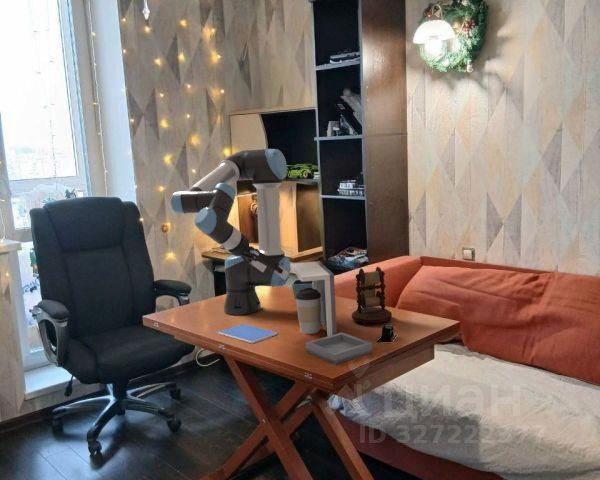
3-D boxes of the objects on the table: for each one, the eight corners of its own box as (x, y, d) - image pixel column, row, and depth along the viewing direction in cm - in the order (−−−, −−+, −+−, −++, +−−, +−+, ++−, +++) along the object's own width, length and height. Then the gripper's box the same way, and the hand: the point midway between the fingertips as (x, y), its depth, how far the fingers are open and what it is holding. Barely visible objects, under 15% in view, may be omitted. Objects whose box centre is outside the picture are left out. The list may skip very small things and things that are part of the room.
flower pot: (295, 299, 253) (294, 279, 251) (316, 299, 251) (315, 279, 250) (292, 305, 244) (291, 284, 243) (313, 305, 243) (312, 283, 241)
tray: (306, 351, 188) (305, 342, 188) (342, 340, 196) (342, 332, 196) (335, 364, 176) (334, 354, 175) (372, 352, 184) (372, 343, 184)
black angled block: (393, 346, 190) (393, 333, 189) (371, 344, 193) (371, 331, 192) (402, 334, 201) (402, 321, 200) (382, 333, 204) (381, 320, 203)
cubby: (293, 322, 220) (290, 263, 217) (322, 319, 222) (319, 261, 218) (305, 342, 197) (301, 277, 193) (337, 339, 199) (334, 274, 195)
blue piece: (217, 335, 212) (216, 331, 212) (243, 326, 221) (243, 322, 221) (252, 345, 199) (251, 341, 198) (279, 335, 207) (278, 332, 207)
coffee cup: (320, 335, 204) (318, 293, 201) (295, 334, 206) (292, 293, 203) (324, 327, 213) (322, 286, 210) (300, 326, 214) (297, 286, 212)
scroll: (382, 312, 227) (380, 262, 223) (398, 323, 213) (397, 269, 209) (346, 317, 223) (344, 266, 219) (360, 328, 209) (358, 273, 205)
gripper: (210, 245, 205) (250, 274, 218) (248, 257, 186) (290, 288, 198) (221, 227, 207) (261, 257, 219) (260, 237, 188) (301, 270, 200)
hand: (275, 272), depth 209 cm, fingers open, 13 cm apart
